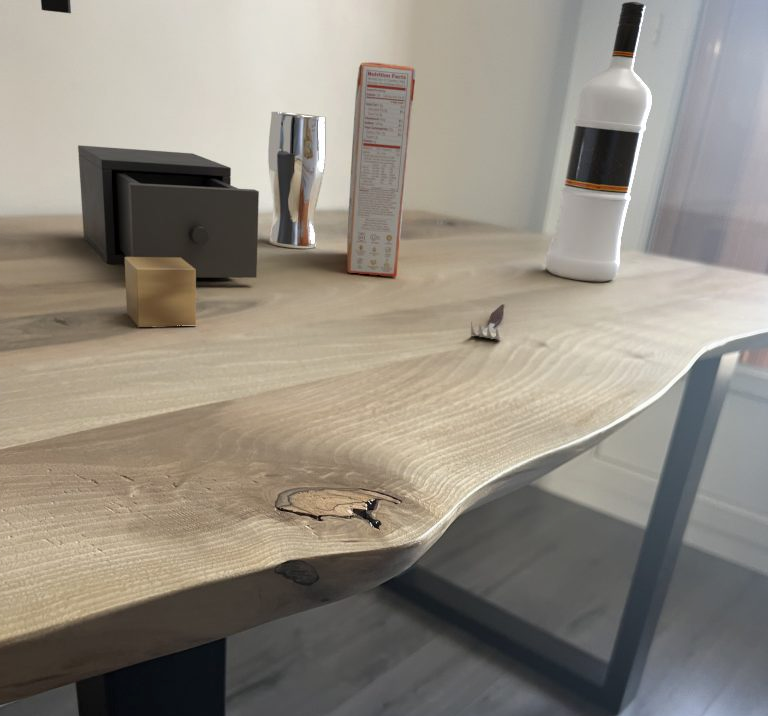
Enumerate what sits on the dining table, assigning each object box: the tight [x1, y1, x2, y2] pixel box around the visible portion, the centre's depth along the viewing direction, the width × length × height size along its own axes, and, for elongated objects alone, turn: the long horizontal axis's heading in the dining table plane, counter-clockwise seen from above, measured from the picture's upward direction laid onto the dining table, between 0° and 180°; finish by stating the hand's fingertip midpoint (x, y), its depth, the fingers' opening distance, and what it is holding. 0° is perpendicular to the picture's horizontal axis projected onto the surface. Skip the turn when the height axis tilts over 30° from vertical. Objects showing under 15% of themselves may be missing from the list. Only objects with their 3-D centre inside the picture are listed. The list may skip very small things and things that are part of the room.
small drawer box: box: [77, 144, 232, 265], centre depth 89 cm, size 15×13×10 cm
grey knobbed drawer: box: [112, 170, 260, 279], centre depth 80 cm, size 15×12×8 cm
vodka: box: [544, 1, 652, 283], centre depth 98 cm, size 9×9×30 cm
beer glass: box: [267, 111, 327, 250], centre depth 101 cm, size 7×7×15 cm
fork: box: [470, 304, 505, 340], centre depth 74 cm, size 3×16×2 cm, turn 166°
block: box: [124, 257, 197, 328], centre depth 65 cm, size 4×4×4 cm
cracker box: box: [346, 61, 416, 278], centre depth 92 cm, size 14×6×21 cm, turn 2°
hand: (31, 5), depth 77 cm, fingers open, 13 cm apart
